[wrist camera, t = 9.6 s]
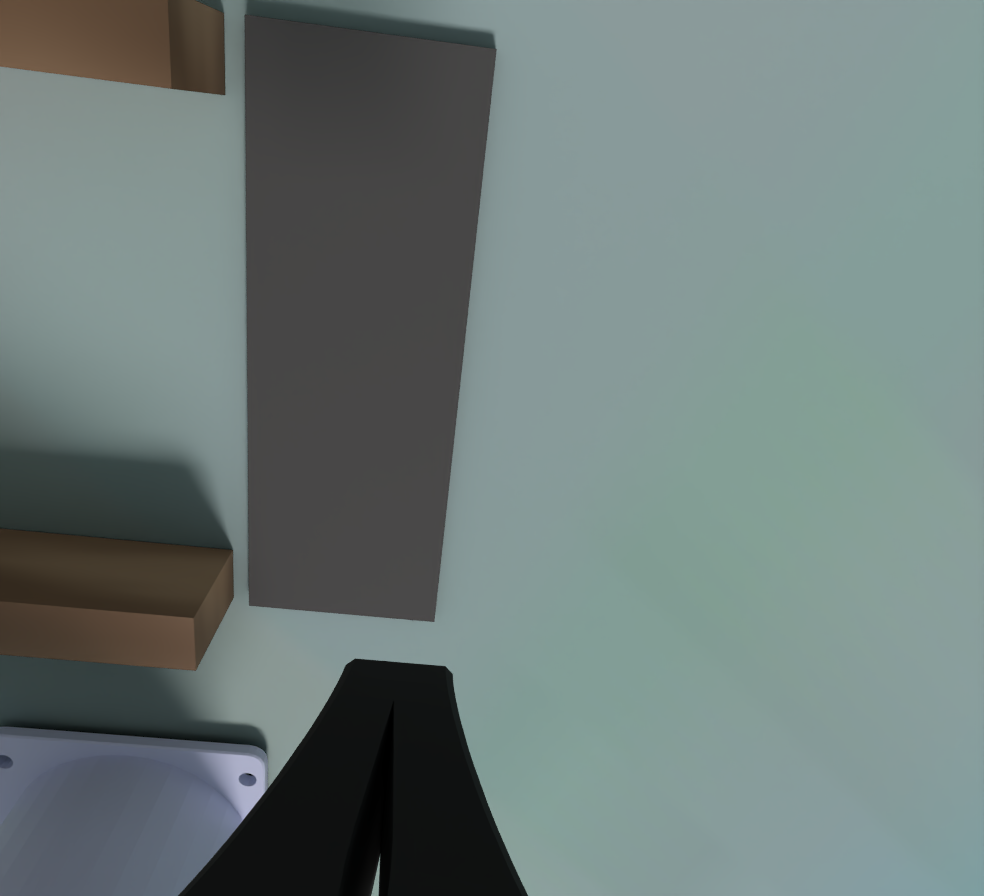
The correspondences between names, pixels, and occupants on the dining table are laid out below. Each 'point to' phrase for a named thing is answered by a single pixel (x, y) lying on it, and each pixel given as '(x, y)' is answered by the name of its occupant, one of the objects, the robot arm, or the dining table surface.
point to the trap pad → (356, 307)
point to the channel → (90, 560)
